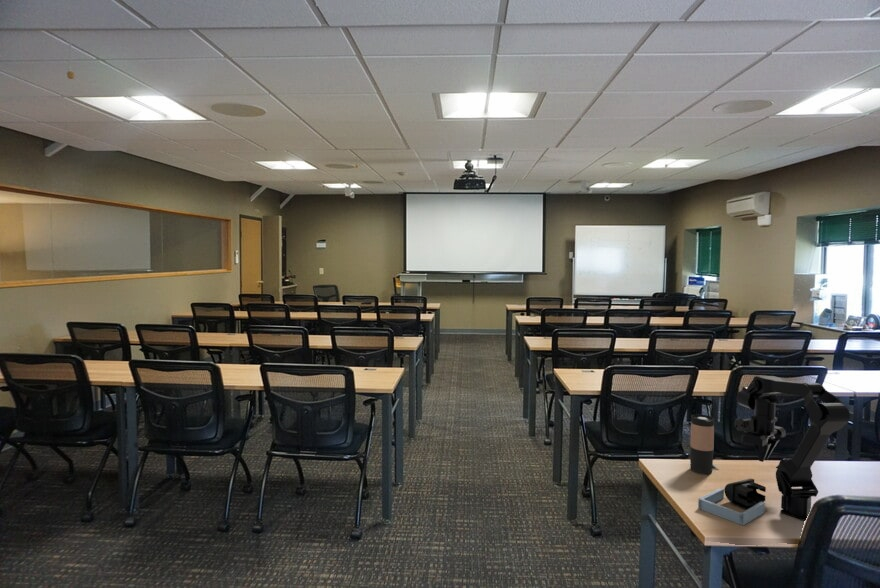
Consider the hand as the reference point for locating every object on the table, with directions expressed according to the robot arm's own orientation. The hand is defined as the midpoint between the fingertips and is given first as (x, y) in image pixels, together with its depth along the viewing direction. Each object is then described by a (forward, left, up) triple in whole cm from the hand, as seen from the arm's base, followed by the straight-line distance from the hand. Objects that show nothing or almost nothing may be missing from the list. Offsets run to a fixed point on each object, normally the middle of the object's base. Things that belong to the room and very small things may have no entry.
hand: (763, 460), depth 166 cm
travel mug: (+21, -2, -11) cm, 24 cm away
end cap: (0, +13, -11) cm, 17 cm away
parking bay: (0, +22, -11) cm, 24 cm away
